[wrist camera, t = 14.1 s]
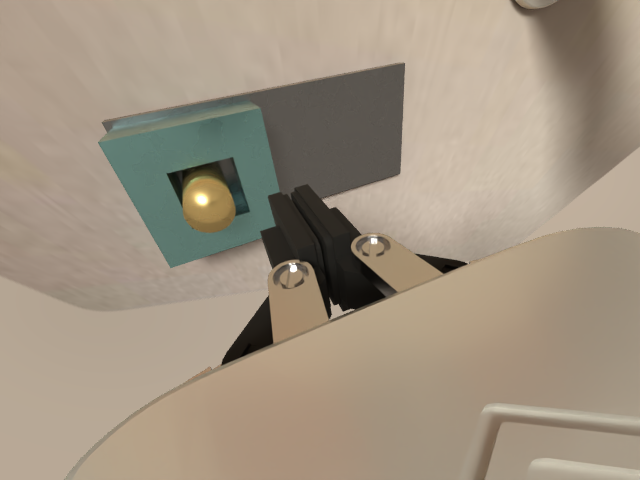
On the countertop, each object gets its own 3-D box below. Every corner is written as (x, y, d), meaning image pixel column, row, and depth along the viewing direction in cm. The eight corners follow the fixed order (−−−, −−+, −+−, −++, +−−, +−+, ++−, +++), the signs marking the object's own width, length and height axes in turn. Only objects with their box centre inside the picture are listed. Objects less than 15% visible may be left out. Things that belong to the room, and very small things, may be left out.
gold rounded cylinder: (216, 152, 26) (227, 182, 20) (227, 188, 28) (241, 225, 22) (175, 161, 25) (174, 195, 19) (190, 197, 27) (193, 238, 21)
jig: (399, 62, 30) (439, 63, 25) (395, 171, 37) (426, 187, 32) (104, 120, 23) (84, 136, 18) (169, 240, 30) (167, 274, 25)
